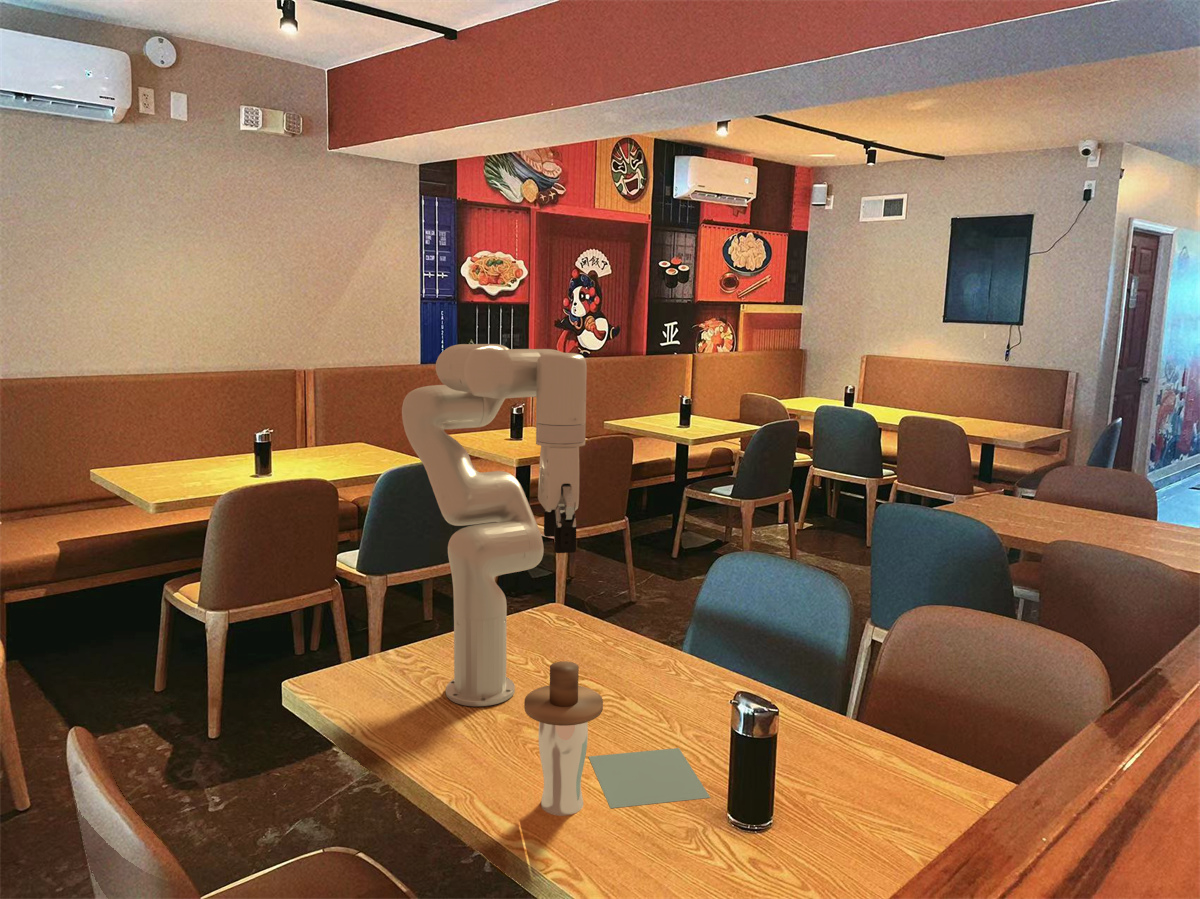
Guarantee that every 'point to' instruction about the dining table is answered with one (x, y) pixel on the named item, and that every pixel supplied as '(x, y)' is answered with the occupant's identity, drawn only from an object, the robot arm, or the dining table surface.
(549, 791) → the beer glass
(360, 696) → the dining table surface
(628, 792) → the rubber mat
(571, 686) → the walnut lid
